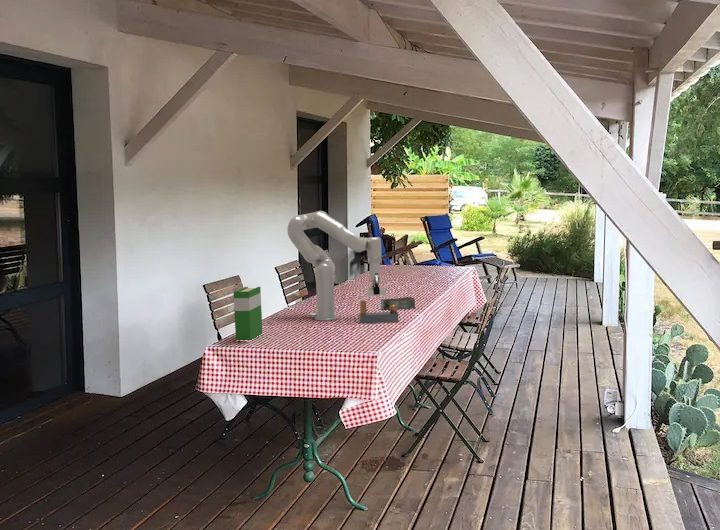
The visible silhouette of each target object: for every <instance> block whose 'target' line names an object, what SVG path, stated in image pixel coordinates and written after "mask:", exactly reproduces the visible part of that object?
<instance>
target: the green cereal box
mask: <svg viewBox="0 0 720 530" xmlns="http://www.w3.org/2000/svg"><path fill="white" fill-rule="evenodd" d="M261 295H262V293H261V286H257V287H250V288H249V286H244V287H242V288H240V289H237V290H235V291H233V306H234V307H233V309H234V312H233V313H234V330H235V341H236V340H252V339H254V338H256V337H257V336H259V335H261V334H262V333H263V317H262V315H263V314H262V296H261ZM263 334H264V333H263Z"/></svg>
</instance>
